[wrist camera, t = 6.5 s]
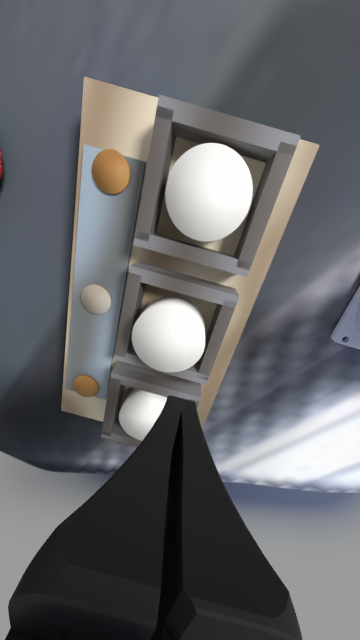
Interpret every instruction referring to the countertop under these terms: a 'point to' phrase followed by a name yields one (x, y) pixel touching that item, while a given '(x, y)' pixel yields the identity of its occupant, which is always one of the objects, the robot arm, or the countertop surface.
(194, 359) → the middle button
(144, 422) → the button
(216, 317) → the button board
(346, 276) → the countertop surface
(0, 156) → the soda can
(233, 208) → the button
